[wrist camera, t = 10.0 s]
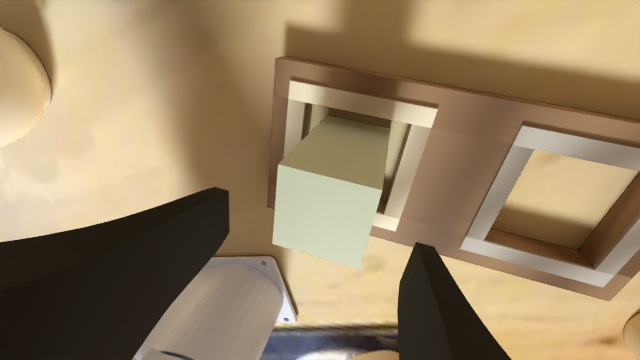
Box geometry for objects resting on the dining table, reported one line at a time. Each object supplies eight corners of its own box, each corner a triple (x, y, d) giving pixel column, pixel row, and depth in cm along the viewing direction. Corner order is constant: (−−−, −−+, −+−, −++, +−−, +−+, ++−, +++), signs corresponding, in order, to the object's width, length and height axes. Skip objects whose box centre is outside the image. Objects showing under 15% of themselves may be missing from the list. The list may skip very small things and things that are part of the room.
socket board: (275, 196, 21) (266, 208, 20) (285, 56, 16) (274, 58, 15) (594, 282, 18) (611, 304, 16) (725, 135, 13) (767, 147, 11)
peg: (318, 171, 19) (272, 243, 12) (326, 115, 17) (278, 164, 10) (374, 185, 19) (359, 269, 12) (390, 128, 17) (382, 190, 10)
